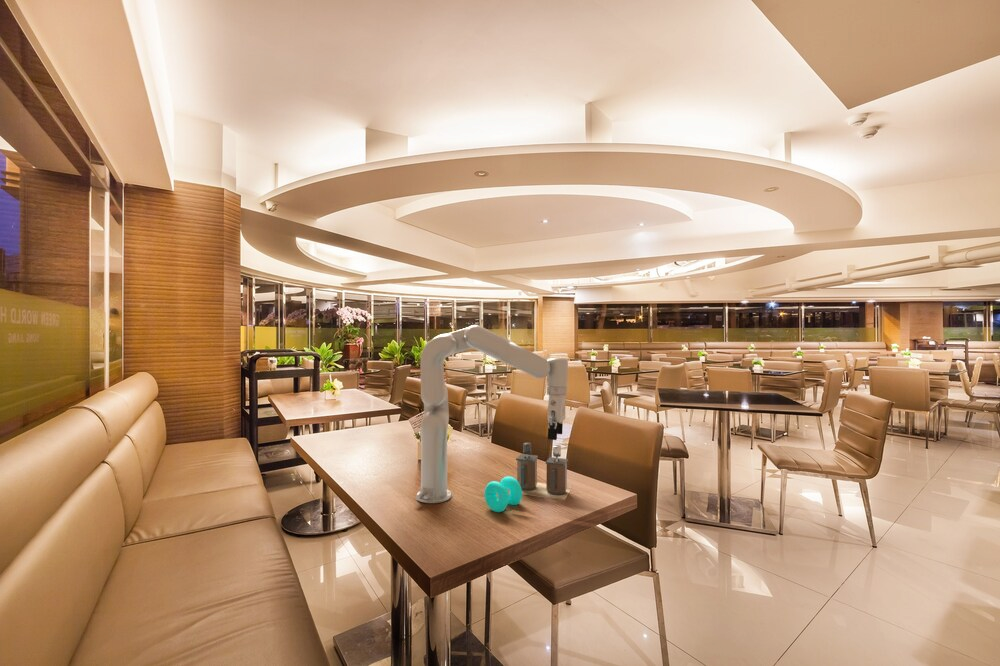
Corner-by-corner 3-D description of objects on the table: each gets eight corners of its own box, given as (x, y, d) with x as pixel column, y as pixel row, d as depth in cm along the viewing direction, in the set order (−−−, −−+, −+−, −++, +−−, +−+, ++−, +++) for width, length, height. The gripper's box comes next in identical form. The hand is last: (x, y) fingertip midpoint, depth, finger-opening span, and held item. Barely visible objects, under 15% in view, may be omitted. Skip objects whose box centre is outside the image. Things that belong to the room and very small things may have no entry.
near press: (562, 498, 148) (562, 466, 148) (543, 495, 150) (543, 463, 150) (567, 489, 156) (567, 458, 157) (549, 487, 159) (549, 456, 159)
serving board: (564, 503, 146) (564, 500, 146) (511, 495, 153) (511, 492, 153) (571, 489, 159) (571, 486, 159) (522, 483, 166) (522, 480, 166)
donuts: (523, 508, 142) (523, 479, 142) (503, 517, 135) (503, 486, 135) (502, 500, 149) (503, 472, 149) (482, 508, 142) (482, 479, 142)
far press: (531, 494, 152) (531, 448, 152) (513, 491, 154) (513, 446, 154) (538, 485, 160) (538, 442, 161) (520, 483, 163) (521, 440, 163)
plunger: (561, 490, 151) (561, 448, 151) (548, 488, 153) (549, 446, 153) (564, 486, 156) (564, 445, 156) (551, 484, 158) (552, 443, 158)
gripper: (562, 394, 145) (560, 443, 145) (571, 389, 161) (569, 433, 161) (541, 392, 148) (539, 440, 148) (552, 387, 164) (550, 430, 164)
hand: (555, 436), depth 154 cm, fingers open, 9 cm apart
